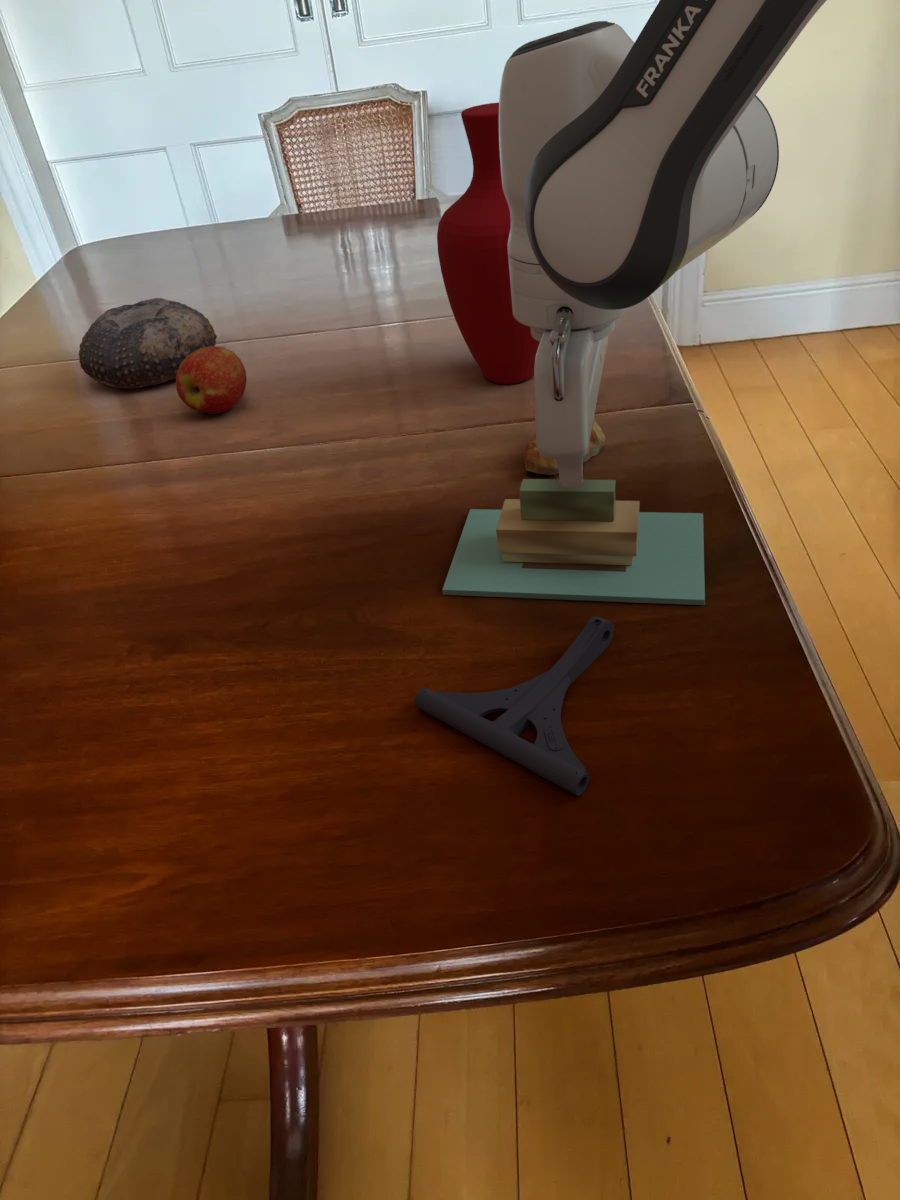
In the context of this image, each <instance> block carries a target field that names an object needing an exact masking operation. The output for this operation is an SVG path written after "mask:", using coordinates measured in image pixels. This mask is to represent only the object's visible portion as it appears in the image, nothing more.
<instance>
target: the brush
mask: <svg viewBox="0 0 900 1200" xmlns="http://www.w3.org/2000/svg"><path fill="white" fill-rule="evenodd" d="M616 482H617V481H616V479H583V482H582V485H581V486H579V487H563V486H562V485H561V484H560V483H559V478H522V480H521V483H520V485H519V490H518V494H519V498H505V499H504V500H503V505H502V507H501V510H502V511H501V514H500V517H499V521H498V524H497V528H496V535H497V546H498V552H502V556H503V561H504V562H534V563H567V564H599V565H633V560H634V556H637V545H638V532H639V512H640V506H641V505H640V503H641V502H640V500H616V484H617V483H616Z"/></svg>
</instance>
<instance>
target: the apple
mask: <svg viewBox="0 0 900 1200" xmlns="http://www.w3.org/2000/svg"><path fill="white" fill-rule="evenodd" d="M247 380H248V379H247V371H246V368H245V365H244V364H243V361H242V360H241V358H240V357H239V355H237V354H236V352H234V351H232V350H230V349H228V348H225V347H222V346H214V347H204V348H200V349H198V350H196V351H194V352H192V353H191V354H190V355H188V356H187V357H186V358H185V359H184V360H183V362H182V363H181V365H180V366H179V368H178V371H177V375H176V379H175V387H176V392H177V394H178V397H179V399H180V400H181V401H182V403H183V404H185V406H187V407H188V408H190V409H192V410H194V411H197V412H200V413H203V414H207V415H208V414H209V415H215V414H221V413H224V412H227V411H229V410H230V409H232V408H233V407H234V406H236V405H237V404H238V403H239V402H240V401H241V399H242V397H243V396H244V393H245V391H246V388H247V382H248V381H247Z"/></svg>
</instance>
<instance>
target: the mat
mask: <svg viewBox="0 0 900 1200" xmlns="http://www.w3.org/2000/svg"><path fill="white" fill-rule="evenodd" d="M501 511H502V509H487V508H486V509H485V508H484V509H482V508H470V509H469V511H468V514H467V517H466V519H465V523H464V526H463V528H462V531H461V534H460V538H459V540H458V543H457V547H456V549H455V552H454V555H453V558H452V561H451V563H450V566H449V569H448V572H447V575H446V578H445V580H444V583H443V587H442V589H441V590H442V595H443V596H464V597H491V598H515V599H536V600H537V599H538V600H539V599H540V600H562V601H588V602H591V601H592V602H609V603H610V602H613V603H633V604H634V603H639V604H659V605H661V604H663V605H664V604H665V605H686V606H705V605H706V589H705V587H706V586H705V585H706V584H705V583H706V582H705V581H706V579H705V542H704V541H705V539H704V538H705V537H704V536H705V533H704V513H703V512H660V511H659V512H653V511H639V532H638V545H637V556H634V560H633V565H599V564H567V563H534V562H504V561H503V556H502V552H498V546H497V535H496V528H497V524H498V521H499V517H500V514H501Z"/></svg>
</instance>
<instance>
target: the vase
mask: <svg viewBox="0 0 900 1200" xmlns="http://www.w3.org/2000/svg"><path fill="white" fill-rule="evenodd" d="M460 117H461V121H462V124H463V128H464V131H465V134H466V139H467V141H468V142H467V143H468V147H469V150H470V155H471V159H472V178H471V180H470V183H469V185H468V187H467V189H466V190H465V191H464V193H463V194H462V195H461V196H460V197H459V198H458V199H457V200H456V201H455V202H454V203H452V204H451V205H450V206H449V207H448V208H447V209H446V210H445V211H444V212H443V214H442V216H441V218H440V220H439V222H438V225H437V233H436V240H437V243H436V244H437V256H438V260H439V267H440V272H441V276H442V281H443V284H444V288H445V292H446V296H447V299H448V302H449V305H450V309H451V313H452V315H453V317H454V321H455V323H456V325H457V327H458V330H459V332H460V334H461V336H462V338H463V340H464V342H465V344H466V346H467V348H468V350H469V353H470V354H471V356H472V357H473V360H474V361H475V363H476V365H477V367H478V368H479V370H480V373H482V375H483V377H484V378H485V379H486V380H488V381H489V382H491V383H495V384H501V385H502V384H503V385H509V384H510V385H511V384H517V383H522V382H525V381H527V380H531V379H532V378H534V366H535V357H536V353H537V350H538V347H539V344H540V342H539V341H537V340H535V339H534V338H533V337H532V335H531V327H529V326H526V325H524V324H522V323H520V322H518V321H517V320H516V319H515V318H514V316H513V311H512V298H511V286H510V274H509V262H508V249H507V246H508V238H509V233H510V225H511V218H510V210H509V206H508V203H507V200H506V197H505V195H504V192H503V187H502V177H501V164H500V149H499V102H490V103H483V104H477V105H474V106H471V107H468V108H465V109H463V110H462V111H461V112H460Z"/></svg>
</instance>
